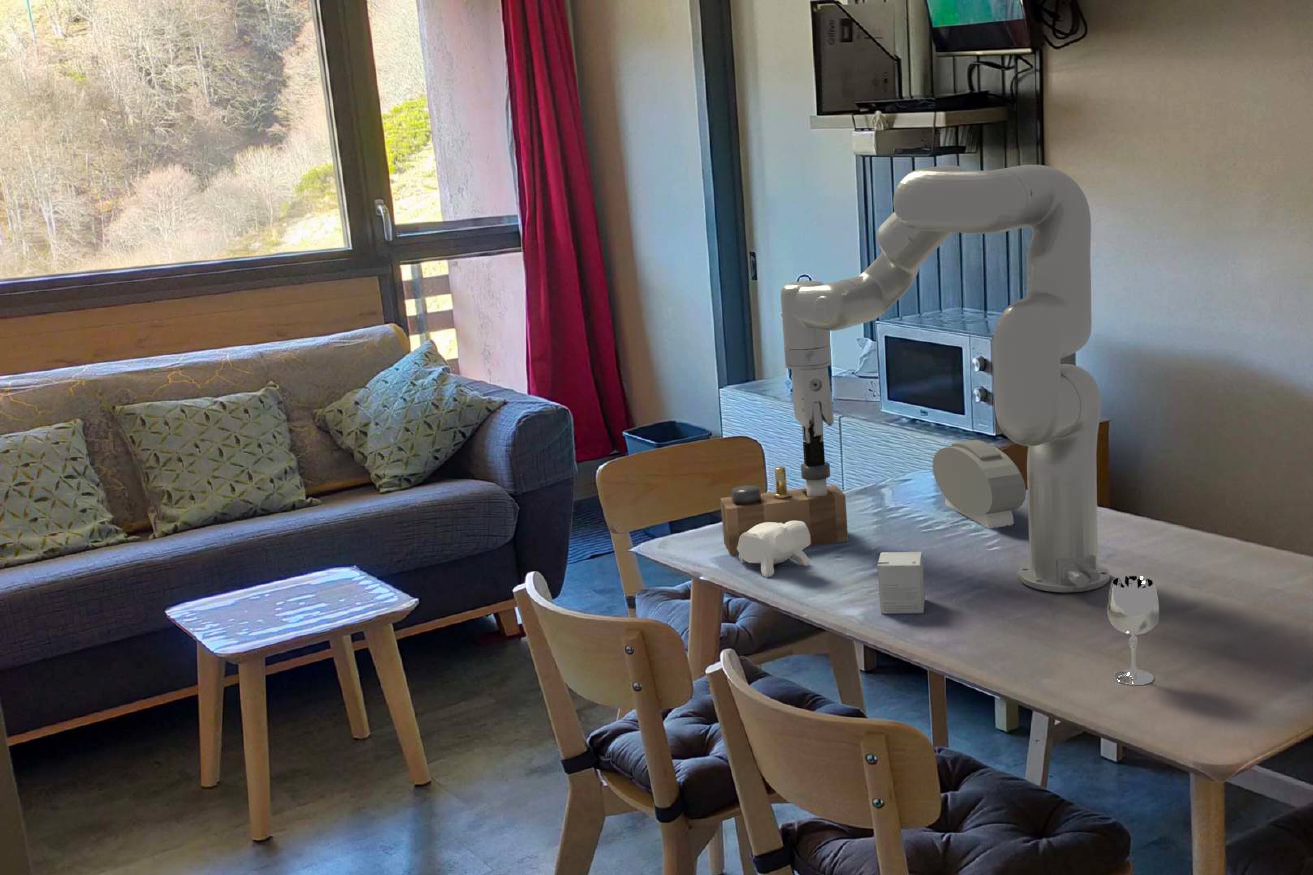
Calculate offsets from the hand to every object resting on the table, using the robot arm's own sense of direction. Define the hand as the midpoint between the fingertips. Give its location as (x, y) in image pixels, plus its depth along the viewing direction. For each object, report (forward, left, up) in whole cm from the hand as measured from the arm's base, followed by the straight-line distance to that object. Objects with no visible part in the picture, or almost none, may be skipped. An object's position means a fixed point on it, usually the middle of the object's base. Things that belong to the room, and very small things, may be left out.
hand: (814, 464), depth 214 cm
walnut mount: (0, +6, -13) cm, 14 cm away
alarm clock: (+3, -29, -13) cm, 32 cm away
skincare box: (-36, -4, -13) cm, 39 cm away
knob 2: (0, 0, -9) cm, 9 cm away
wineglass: (-68, -23, -13) cm, 73 cm away
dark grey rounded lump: (0, +12, -12) cm, 17 cm away
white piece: (-13, +10, -13) cm, 21 cm away
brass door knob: (0, +6, -5) cm, 8 cm away
